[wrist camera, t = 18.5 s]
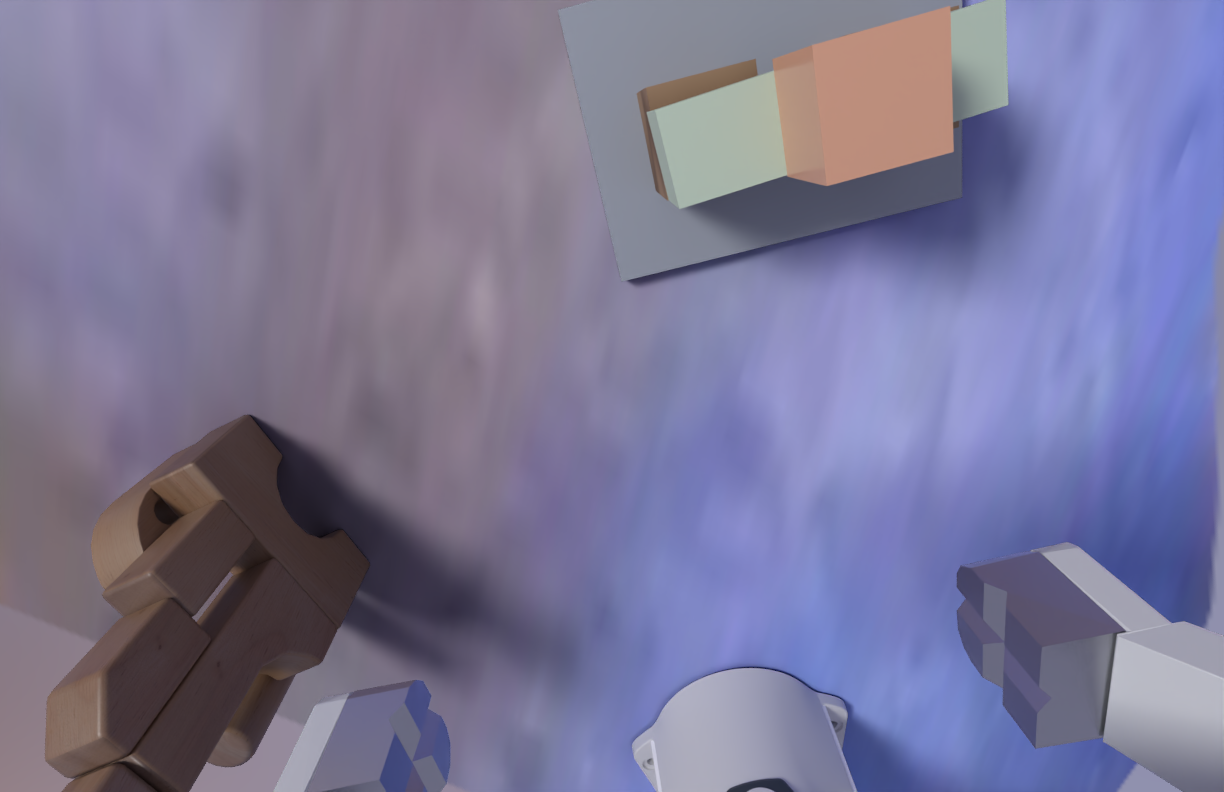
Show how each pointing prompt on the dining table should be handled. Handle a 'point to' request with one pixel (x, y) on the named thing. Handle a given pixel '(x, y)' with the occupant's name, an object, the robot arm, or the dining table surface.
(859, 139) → the cube
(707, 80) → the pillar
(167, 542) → the wooden toy
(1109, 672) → the robot arm
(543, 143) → the dining table surface
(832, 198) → the board
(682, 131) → the plank
